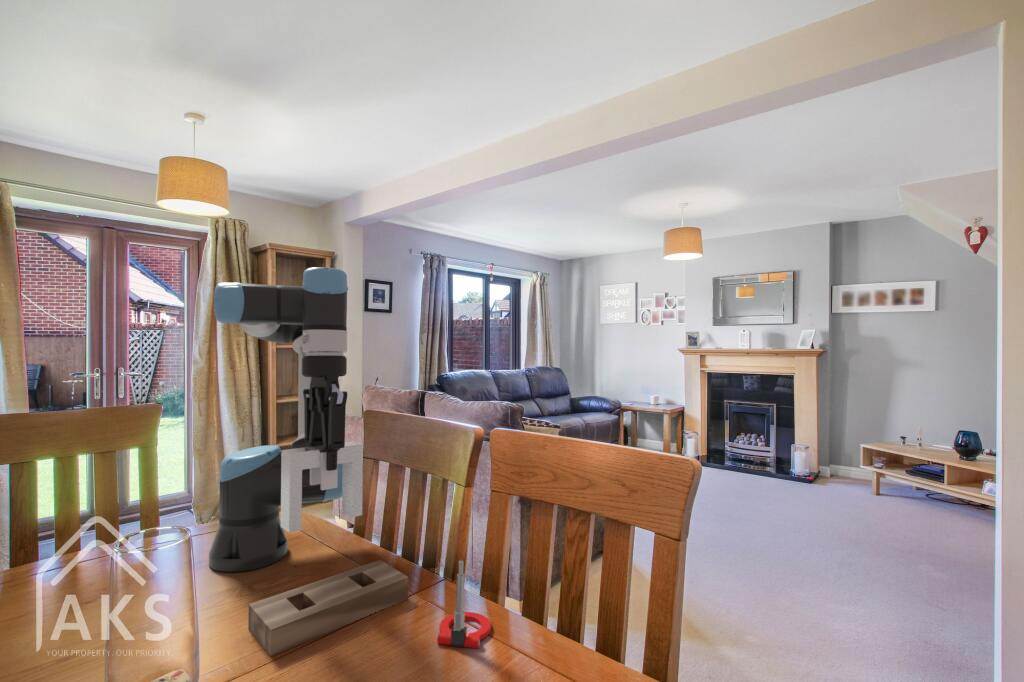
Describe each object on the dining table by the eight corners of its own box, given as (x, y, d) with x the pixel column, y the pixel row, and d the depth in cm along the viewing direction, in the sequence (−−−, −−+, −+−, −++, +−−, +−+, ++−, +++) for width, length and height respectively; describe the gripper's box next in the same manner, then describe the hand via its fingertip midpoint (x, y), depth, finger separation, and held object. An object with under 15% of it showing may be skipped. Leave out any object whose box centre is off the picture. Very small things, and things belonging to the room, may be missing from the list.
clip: (280, 526, 84) (281, 450, 85) (352, 510, 93) (352, 441, 94) (289, 532, 82) (290, 453, 82) (362, 515, 91) (362, 443, 91)
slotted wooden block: (248, 628, 81) (248, 604, 81) (380, 580, 98) (380, 559, 98) (270, 656, 73) (270, 629, 73) (408, 598, 90) (408, 577, 90)
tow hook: (447, 616, 86) (430, 645, 77) (449, 540, 86) (433, 561, 77) (495, 621, 84) (483, 652, 75) (497, 544, 85) (486, 565, 76)
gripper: (285, 354, 92) (284, 481, 91) (324, 354, 80) (322, 500, 79) (325, 355, 97) (324, 474, 96) (366, 354, 85) (365, 491, 84)
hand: (323, 485), depth 88 cm, fingers closed on clip, 4 cm apart
